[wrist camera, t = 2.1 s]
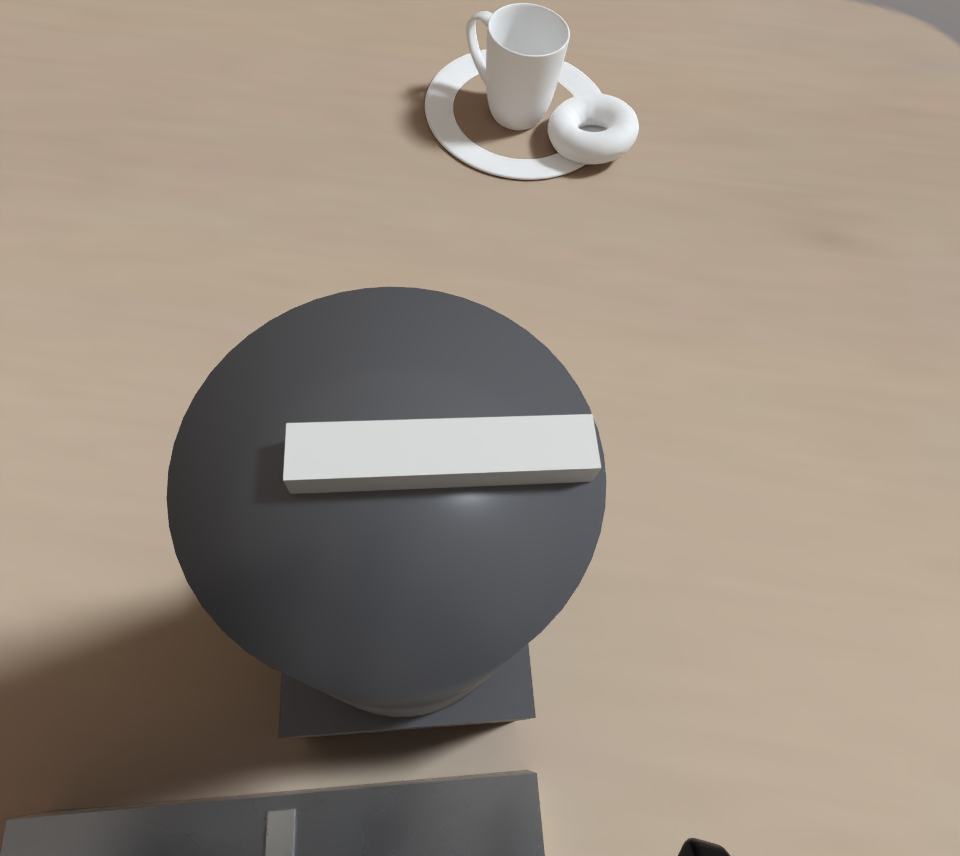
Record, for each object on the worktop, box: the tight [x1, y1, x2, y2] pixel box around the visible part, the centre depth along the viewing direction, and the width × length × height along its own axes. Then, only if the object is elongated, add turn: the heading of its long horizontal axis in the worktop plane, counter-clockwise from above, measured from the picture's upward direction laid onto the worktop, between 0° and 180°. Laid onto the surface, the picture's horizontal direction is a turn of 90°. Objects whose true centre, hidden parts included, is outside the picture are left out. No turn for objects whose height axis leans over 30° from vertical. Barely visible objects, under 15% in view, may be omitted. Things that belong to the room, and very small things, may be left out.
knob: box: [167, 287, 606, 738], centre depth 13 cm, size 6×6×12 cm
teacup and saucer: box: [425, 3, 639, 180], centre depth 27 cm, size 9×8×4 cm
